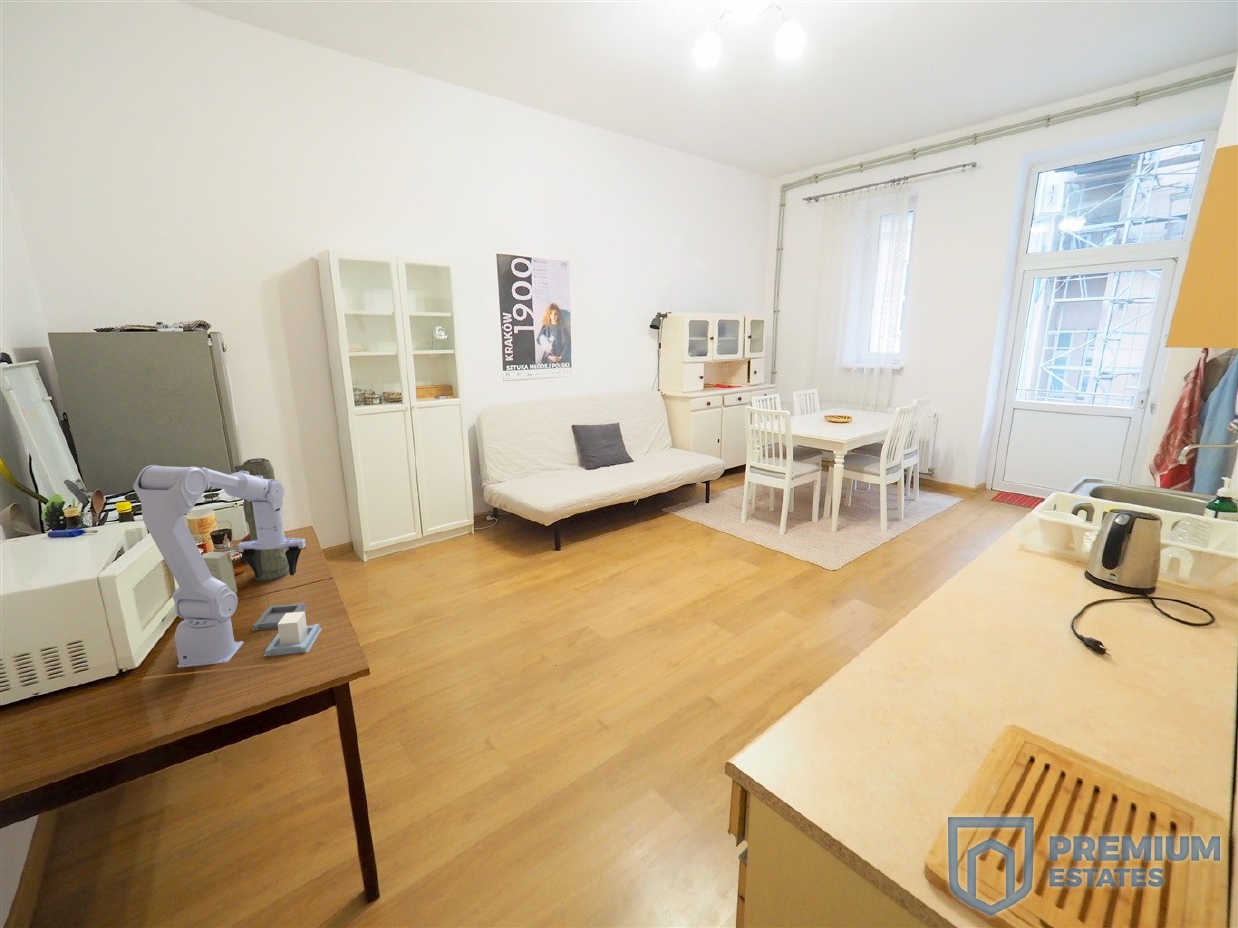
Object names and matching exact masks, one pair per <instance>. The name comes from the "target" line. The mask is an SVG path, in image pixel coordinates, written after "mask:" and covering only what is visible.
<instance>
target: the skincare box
mask: <svg viewBox="0 0 1238 928" xmlns="http://www.w3.org/2000/svg"><path fill="white" fill-rule="evenodd" d="M201 555H202V557H203V559H204V561H205V563H206V565H207V567H208V569H209V571H210V573H211V575H212V577H214V578H216V579H218V580H220V581H222V582H223V583H225V584H227V586H228V588H229V589H230V590H231V591H233V592H234V593H235V594H236V595H237V593H238V588H237V581H236V577H235V572H234V566H233V562H232V556H231V555H232V554H231V552H229V551H208V552H206V553H203V554H201Z"/></svg>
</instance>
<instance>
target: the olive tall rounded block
mask: <svg viewBox="0 0 1238 928" xmlns="http://www.w3.org/2000/svg"><path fill="white" fill-rule="evenodd" d="M240 471H248V472H249V475H253V476H256V475H260V476H263V478H264V479H274V480H276V478H275V470H274V467H273V465H272V463H271V462H270V460H269V459H266V458H262V457H259V458H251V459H247V460H246V461H244V462H243V463H242V467H241V470H240ZM243 511H244V519H245V522H246V523H247V525H248V533H249V534H250V539H251V541H255V540H258V539H257V532H256V525H255V518H254V512H253V505H252V501H251V502H249V501H247V500H246V499H243ZM281 512H282V513H283V510H282V508H281ZM287 550H288V549H287V548H283V549H266V550H261V564H262V569H263V575H262V576H261V577H260V578H256V575H255V573H254V572H253V573H254V577H253V578H254V579H255V580H256V581H258V582H259V581H260V582H270V581H274V580H279V579H281V578H283V577H285V576H287V575H289V574H290V573H289V564H288V560H287V557H286V555H285V552H286V551H287Z"/></svg>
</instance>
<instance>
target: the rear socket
mask: <svg viewBox="0 0 1238 928" xmlns="http://www.w3.org/2000/svg"><path fill="white" fill-rule="evenodd" d="M307 607H308V606H306V603H305V602H300V603H293V604H292V603H291V604H280V605H279V604H278V605H275V604H270V605H269V606H268V607H267V608H266V610H264V612H263V613H262V614H261V615H260V617H259V618H258V619H257V620H256V622H255V623H254V624H253V626H252V629H251V631H252V632H253V631H261V630H271V629H278V625H277V624H278V623H279V621H280V620H281V619H282V618H283V616H284V615H285V614H286V613H291V612H303V611H306V609H307Z"/></svg>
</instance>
